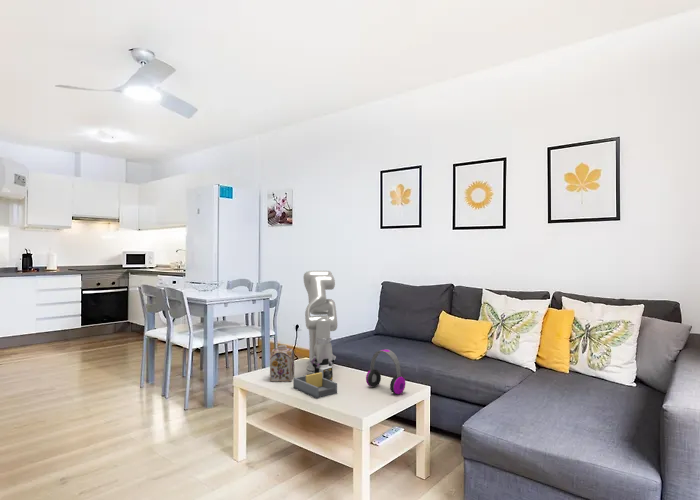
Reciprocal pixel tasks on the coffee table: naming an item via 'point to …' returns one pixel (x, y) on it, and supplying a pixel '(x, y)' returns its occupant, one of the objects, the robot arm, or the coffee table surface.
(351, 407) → the coffee table surface
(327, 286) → the robot arm
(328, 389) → the gray tray
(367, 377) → the headphones
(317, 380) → the pusher
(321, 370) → the medicine bottle
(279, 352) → the decorative jar
